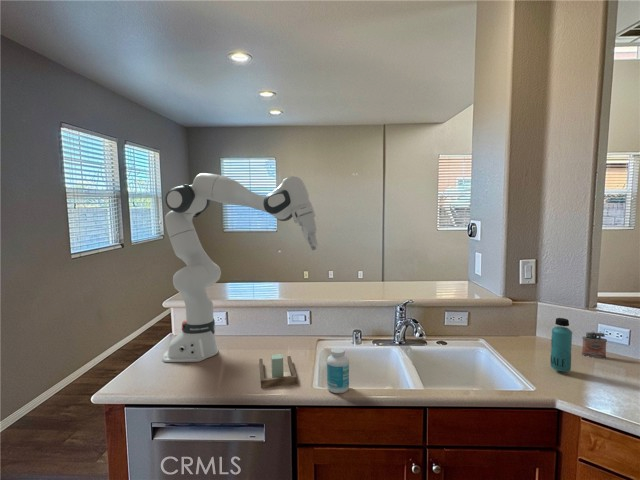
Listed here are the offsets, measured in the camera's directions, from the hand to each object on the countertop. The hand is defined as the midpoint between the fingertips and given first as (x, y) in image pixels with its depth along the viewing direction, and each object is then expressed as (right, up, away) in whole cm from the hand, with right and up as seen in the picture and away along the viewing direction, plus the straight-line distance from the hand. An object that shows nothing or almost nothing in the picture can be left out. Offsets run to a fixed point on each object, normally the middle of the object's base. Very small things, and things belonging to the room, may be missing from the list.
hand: (314, 247), depth 139 cm
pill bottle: (+8, -48, -17) cm, 51 cm away
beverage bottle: (+91, -46, -7) cm, 102 cm away
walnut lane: (-14, -47, -4) cm, 49 cm away
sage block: (-13, -47, -8) cm, 50 cm away
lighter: (+114, -44, +7) cm, 122 cm away
